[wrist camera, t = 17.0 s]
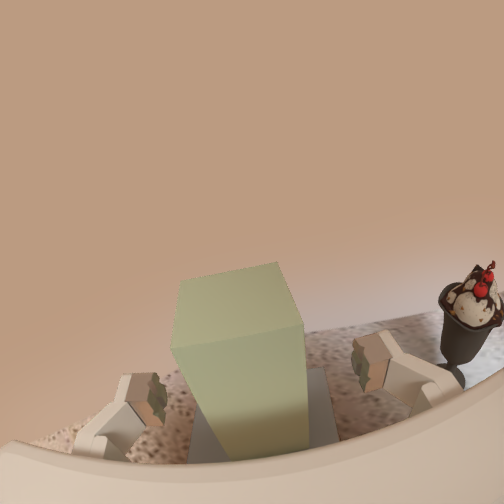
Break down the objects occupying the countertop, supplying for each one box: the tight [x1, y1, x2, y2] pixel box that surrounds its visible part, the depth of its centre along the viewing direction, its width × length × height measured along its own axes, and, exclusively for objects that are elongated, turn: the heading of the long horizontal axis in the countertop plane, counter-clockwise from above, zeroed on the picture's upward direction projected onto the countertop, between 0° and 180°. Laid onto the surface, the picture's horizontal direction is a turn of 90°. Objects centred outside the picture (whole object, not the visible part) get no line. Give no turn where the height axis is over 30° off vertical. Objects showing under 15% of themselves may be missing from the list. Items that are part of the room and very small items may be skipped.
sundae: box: [436, 261, 504, 389], centre depth 19 cm, size 7×7×15 cm
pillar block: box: [170, 262, 309, 462], centre depth 13 cm, size 4×4×10 cm
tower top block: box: [187, 367, 339, 464], centre depth 17 cm, size 9×9×4 cm
